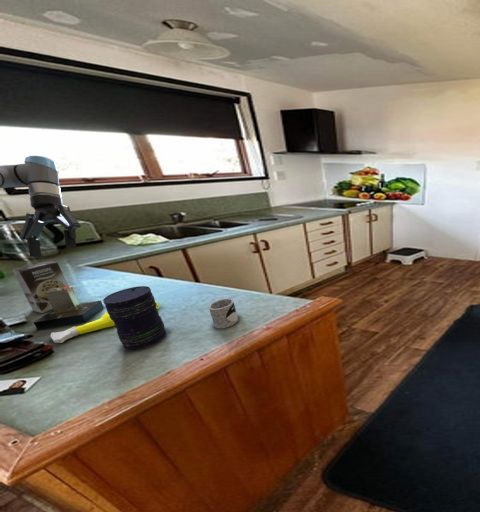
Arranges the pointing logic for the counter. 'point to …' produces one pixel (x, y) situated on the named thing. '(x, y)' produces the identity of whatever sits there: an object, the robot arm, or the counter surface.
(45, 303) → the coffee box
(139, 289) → the storage jar
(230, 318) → the mug
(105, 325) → the yellow flared piece
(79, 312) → the dispenser panel
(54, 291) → the small grey box
